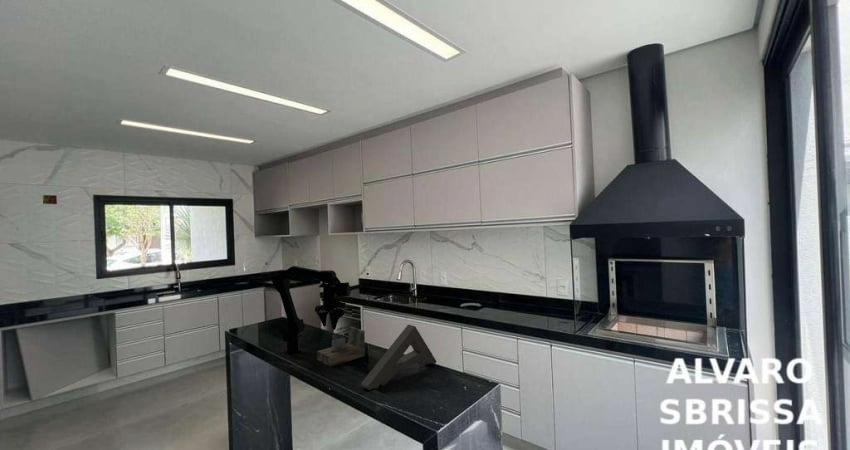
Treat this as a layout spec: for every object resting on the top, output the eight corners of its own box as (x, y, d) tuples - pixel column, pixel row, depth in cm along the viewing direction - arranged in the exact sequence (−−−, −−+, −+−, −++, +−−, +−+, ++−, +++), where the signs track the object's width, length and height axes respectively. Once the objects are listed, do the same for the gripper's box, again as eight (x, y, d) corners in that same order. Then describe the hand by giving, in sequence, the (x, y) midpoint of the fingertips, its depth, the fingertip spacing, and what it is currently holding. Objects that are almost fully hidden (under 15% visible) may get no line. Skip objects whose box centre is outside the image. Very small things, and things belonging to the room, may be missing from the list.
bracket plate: (331, 357, 159) (331, 340, 159) (343, 354, 163) (343, 337, 163) (334, 358, 158) (334, 341, 158) (345, 355, 162) (345, 338, 162)
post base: (317, 359, 159) (317, 333, 159) (350, 350, 172) (350, 326, 172) (330, 366, 151) (330, 339, 151) (364, 356, 163) (364, 330, 164)
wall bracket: (387, 419, 137) (429, 359, 155) (394, 423, 134) (436, 361, 152) (360, 383, 129) (408, 324, 146) (367, 387, 125) (415, 326, 143)
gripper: (353, 296, 169) (353, 328, 168) (333, 292, 182) (334, 321, 182) (333, 299, 161) (333, 332, 161) (314, 295, 174) (314, 325, 174)
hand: (329, 328), depth 169 cm, fingers open, 9 cm apart
